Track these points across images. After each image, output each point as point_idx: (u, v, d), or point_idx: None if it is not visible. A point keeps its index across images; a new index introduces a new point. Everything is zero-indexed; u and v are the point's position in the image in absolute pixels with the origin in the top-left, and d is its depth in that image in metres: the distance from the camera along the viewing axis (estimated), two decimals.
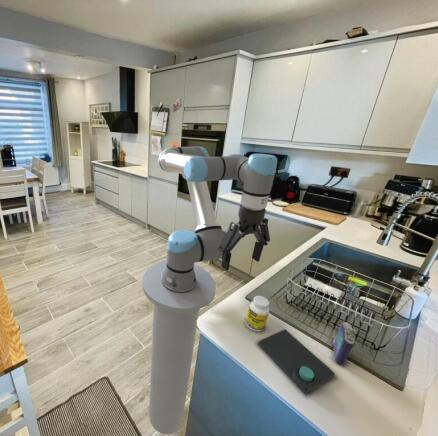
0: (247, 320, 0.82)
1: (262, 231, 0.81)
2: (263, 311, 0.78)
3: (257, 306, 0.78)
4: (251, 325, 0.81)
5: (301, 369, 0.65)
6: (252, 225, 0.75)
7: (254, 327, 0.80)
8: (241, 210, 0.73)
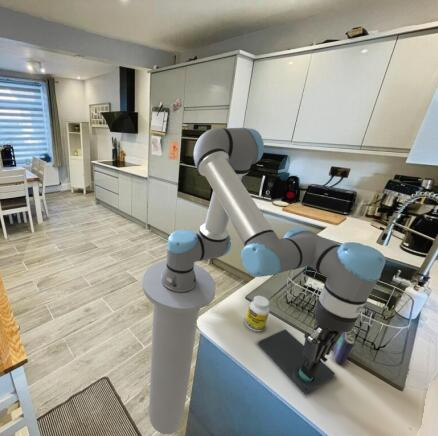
0: (247, 320, 0.82)
1: None
2: (263, 311, 0.78)
3: (257, 306, 0.78)
4: (251, 325, 0.81)
5: (300, 371, 0.65)
6: (334, 329, 0.56)
7: (254, 327, 0.80)
8: (322, 313, 0.54)
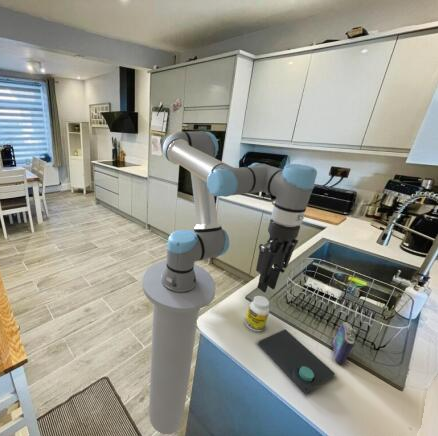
0: (247, 320, 0.82)
1: None
2: (263, 311, 0.78)
3: (257, 306, 0.78)
4: (251, 325, 0.81)
5: (301, 369, 0.65)
6: (283, 242, 0.68)
7: (254, 327, 0.80)
8: (272, 226, 0.66)
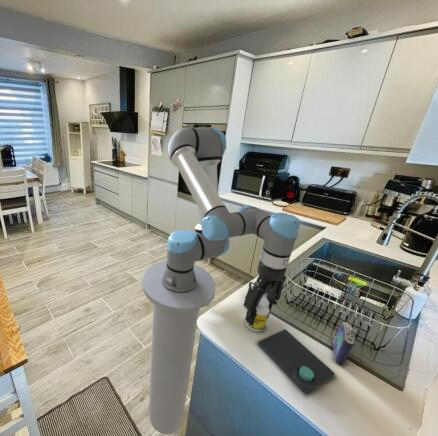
0: None
1: None
2: (263, 311, 0.78)
3: (257, 306, 0.78)
4: None
5: (301, 369, 0.65)
6: (272, 281, 0.74)
7: (254, 327, 0.80)
8: (261, 267, 0.72)
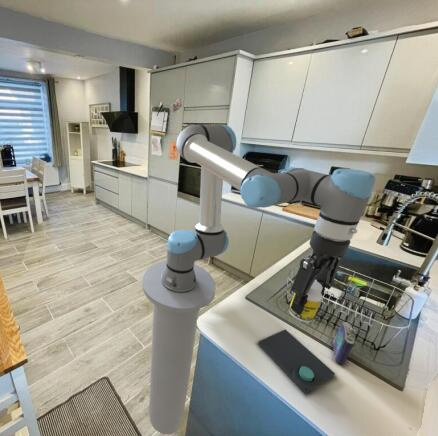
0: None
1: None
2: (315, 296, 0.63)
3: None
4: (298, 315, 0.66)
5: (301, 369, 0.65)
6: (329, 258, 0.59)
7: (302, 317, 0.65)
8: (317, 240, 0.57)
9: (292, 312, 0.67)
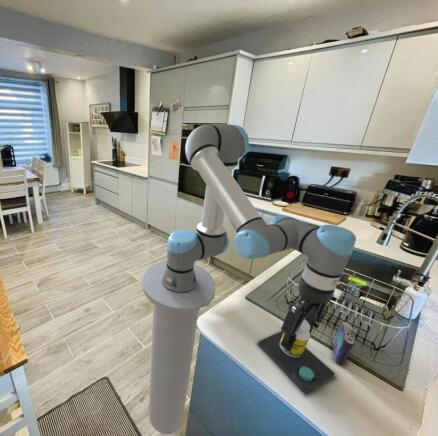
0: None
1: None
2: (303, 335, 0.68)
3: None
4: None
5: (301, 369, 0.65)
6: (315, 302, 0.64)
7: (292, 353, 0.71)
8: (304, 287, 0.62)
9: (282, 347, 0.73)
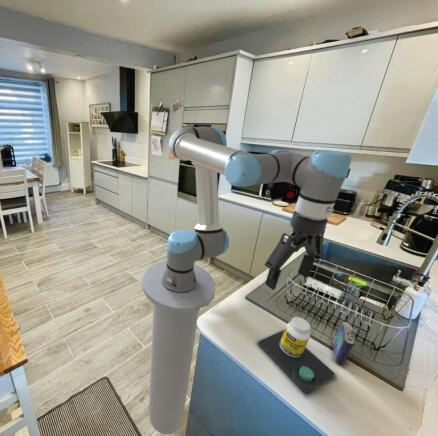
0: (283, 344, 0.72)
1: None
2: (303, 335, 0.68)
3: (297, 330, 0.68)
4: (288, 350, 0.71)
5: (301, 369, 0.65)
6: (308, 237, 0.62)
7: (292, 353, 0.71)
8: (297, 219, 0.60)
9: (282, 347, 0.73)
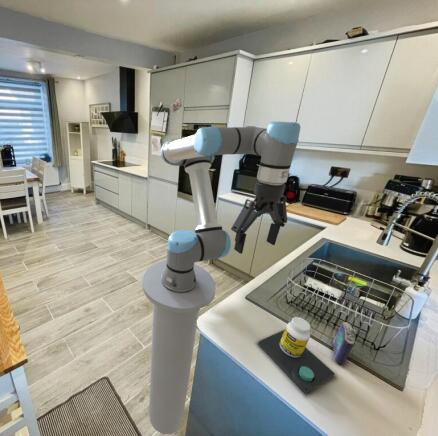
0: (283, 344, 0.72)
1: (279, 211, 0.74)
2: (303, 335, 0.68)
3: (297, 330, 0.68)
4: (288, 350, 0.71)
5: (301, 369, 0.65)
6: (269, 203, 0.68)
7: (292, 353, 0.71)
8: (258, 186, 0.66)
9: (282, 347, 0.73)
